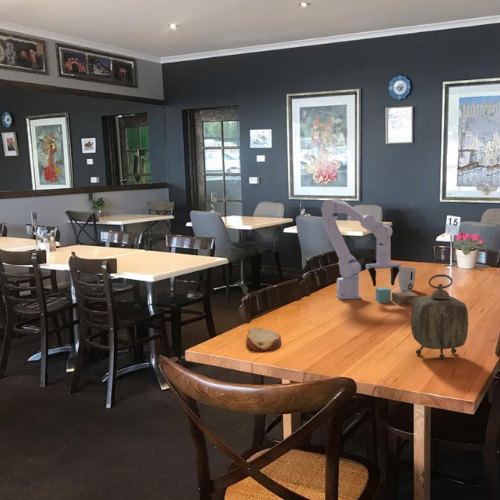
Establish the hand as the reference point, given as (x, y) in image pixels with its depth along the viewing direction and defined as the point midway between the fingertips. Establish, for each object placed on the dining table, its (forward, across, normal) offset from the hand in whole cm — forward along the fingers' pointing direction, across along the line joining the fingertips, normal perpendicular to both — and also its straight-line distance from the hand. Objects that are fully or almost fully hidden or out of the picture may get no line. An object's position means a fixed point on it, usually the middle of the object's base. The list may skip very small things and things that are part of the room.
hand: (383, 285), depth 233 cm
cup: (+7, +16, +19) cm, 26 cm away
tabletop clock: (+7, -3, -71) cm, 71 cm away
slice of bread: (+7, -55, -49) cm, 74 cm away
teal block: (+7, 0, 0) cm, 7 cm away
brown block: (+7, +8, -4) cm, 11 cm away
